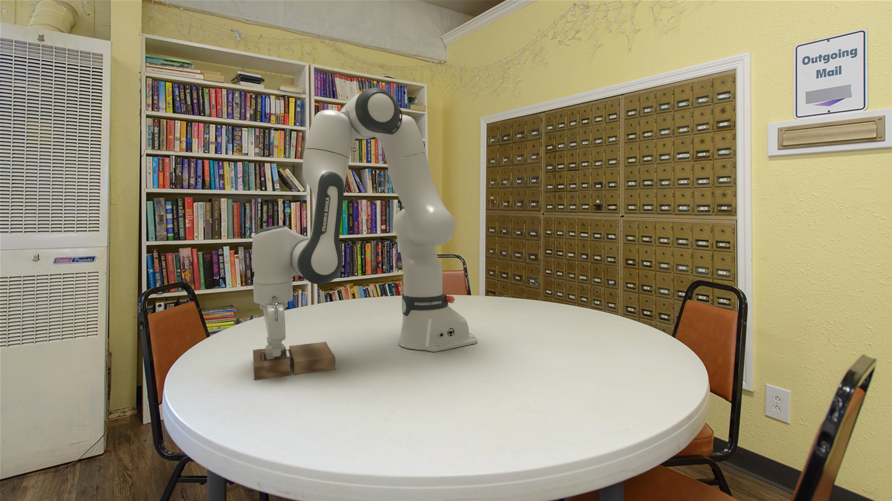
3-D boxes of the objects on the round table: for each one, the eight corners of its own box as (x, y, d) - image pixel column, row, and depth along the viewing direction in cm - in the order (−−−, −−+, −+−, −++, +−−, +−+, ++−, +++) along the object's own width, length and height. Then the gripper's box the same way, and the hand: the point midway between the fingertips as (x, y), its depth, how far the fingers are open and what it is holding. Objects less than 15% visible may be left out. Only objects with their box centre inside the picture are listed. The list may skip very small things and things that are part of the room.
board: (326, 352, 126) (325, 341, 126) (335, 368, 113) (334, 356, 113) (253, 361, 119) (252, 349, 119) (254, 379, 106) (253, 366, 106)
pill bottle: (279, 371, 112) (277, 339, 111) (262, 370, 113) (261, 338, 112) (288, 365, 116) (287, 334, 115) (272, 364, 117) (271, 333, 116)
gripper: (291, 300, 104) (293, 361, 106) (284, 286, 123) (285, 338, 124) (260, 302, 102) (263, 364, 103) (258, 288, 121) (260, 340, 122)
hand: (275, 350), depth 114 cm, fingers open, 8 cm apart
